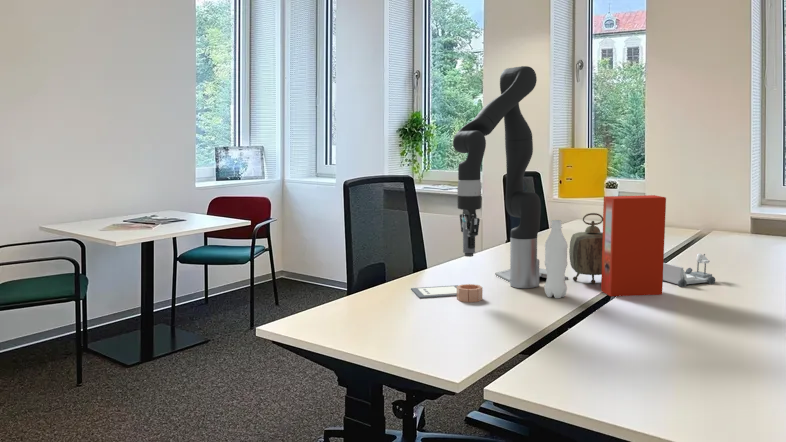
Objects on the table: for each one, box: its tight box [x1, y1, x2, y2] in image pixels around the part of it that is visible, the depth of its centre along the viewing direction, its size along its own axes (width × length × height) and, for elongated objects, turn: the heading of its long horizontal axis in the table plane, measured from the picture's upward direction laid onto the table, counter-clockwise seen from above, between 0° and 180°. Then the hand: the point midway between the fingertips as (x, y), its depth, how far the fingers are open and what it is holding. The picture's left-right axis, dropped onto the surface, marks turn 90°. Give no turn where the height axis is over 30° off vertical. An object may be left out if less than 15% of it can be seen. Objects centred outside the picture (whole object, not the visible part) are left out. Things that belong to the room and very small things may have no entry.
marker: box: [462, 218, 476, 258], centre depth 201 cm, size 4×4×12 cm
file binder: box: [600, 194, 667, 298], centre depth 205 cm, size 8×17×32 cm, turn 95°
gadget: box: [494, 267, 569, 283], centre depth 234 cm, size 22×6×15 cm
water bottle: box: [543, 219, 569, 299], centre depth 203 cm, size 7×7×25 cm
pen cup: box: [456, 283, 483, 303], centre depth 203 cm, size 8×8×4 cm
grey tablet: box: [410, 284, 459, 299], centre depth 213 cm, size 17×13×1 cm
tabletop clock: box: [568, 212, 603, 285], centre depth 221 cm, size 14×9×25 cm, turn 84°
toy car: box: [663, 253, 716, 288], centre depth 222 cm, size 18×10×12 cm
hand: (469, 247), depth 201 cm, fingers closed on marker, 3 cm apart
